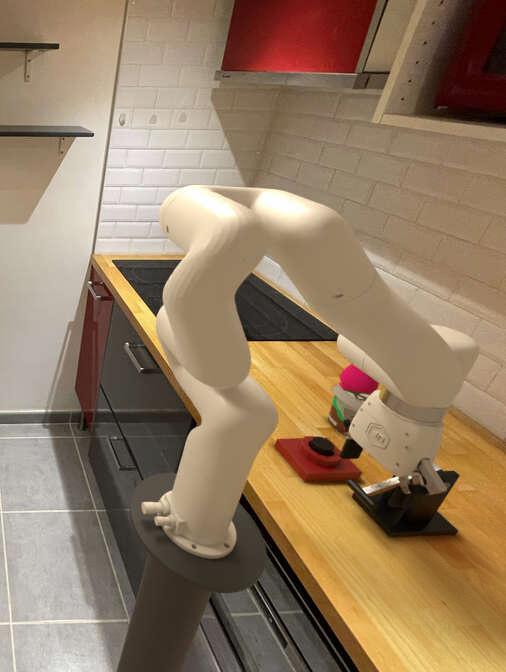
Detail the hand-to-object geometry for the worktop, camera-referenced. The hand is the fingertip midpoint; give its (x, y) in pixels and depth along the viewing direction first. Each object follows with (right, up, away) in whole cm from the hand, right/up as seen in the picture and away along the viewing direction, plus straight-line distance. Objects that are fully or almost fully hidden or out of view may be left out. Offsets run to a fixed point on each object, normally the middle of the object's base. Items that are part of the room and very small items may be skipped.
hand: (371, 480), depth 76 cm
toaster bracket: (+9, -8, +4) cm, 13 cm away
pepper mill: (+26, +5, +34) cm, 43 cm away
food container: (+16, -1, +22) cm, 27 cm away
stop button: (+2, 0, +13) cm, 13 cm away
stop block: (+2, -3, +15) cm, 15 cm away
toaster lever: (+5, -2, +1) cm, 6 cm away
